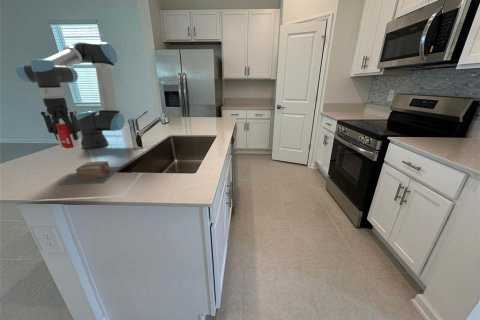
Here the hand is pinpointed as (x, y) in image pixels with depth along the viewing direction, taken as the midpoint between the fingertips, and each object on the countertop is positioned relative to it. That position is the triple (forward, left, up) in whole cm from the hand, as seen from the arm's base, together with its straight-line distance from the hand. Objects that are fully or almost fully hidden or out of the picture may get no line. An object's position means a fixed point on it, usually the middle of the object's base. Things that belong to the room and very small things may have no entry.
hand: (70, 146), depth 99 cm
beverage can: (0, 0, -1) cm, 1 cm away
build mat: (+12, +14, -11) cm, 22 cm away
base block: (+12, +15, -11) cm, 22 cm away
